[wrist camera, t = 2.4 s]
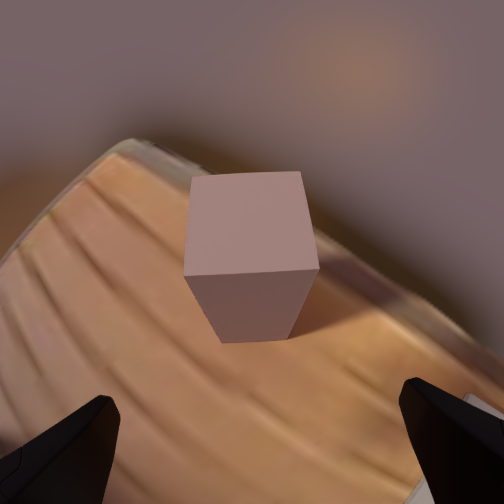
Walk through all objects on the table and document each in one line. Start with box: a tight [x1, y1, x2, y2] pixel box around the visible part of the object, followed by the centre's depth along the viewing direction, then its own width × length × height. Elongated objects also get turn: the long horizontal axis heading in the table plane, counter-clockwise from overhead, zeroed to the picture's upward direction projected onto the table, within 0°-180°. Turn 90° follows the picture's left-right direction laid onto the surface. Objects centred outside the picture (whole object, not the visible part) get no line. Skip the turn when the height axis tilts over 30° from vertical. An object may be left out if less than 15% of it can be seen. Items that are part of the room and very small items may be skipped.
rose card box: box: [183, 171, 320, 343], centre depth 17 cm, size 5×5×12 cm
